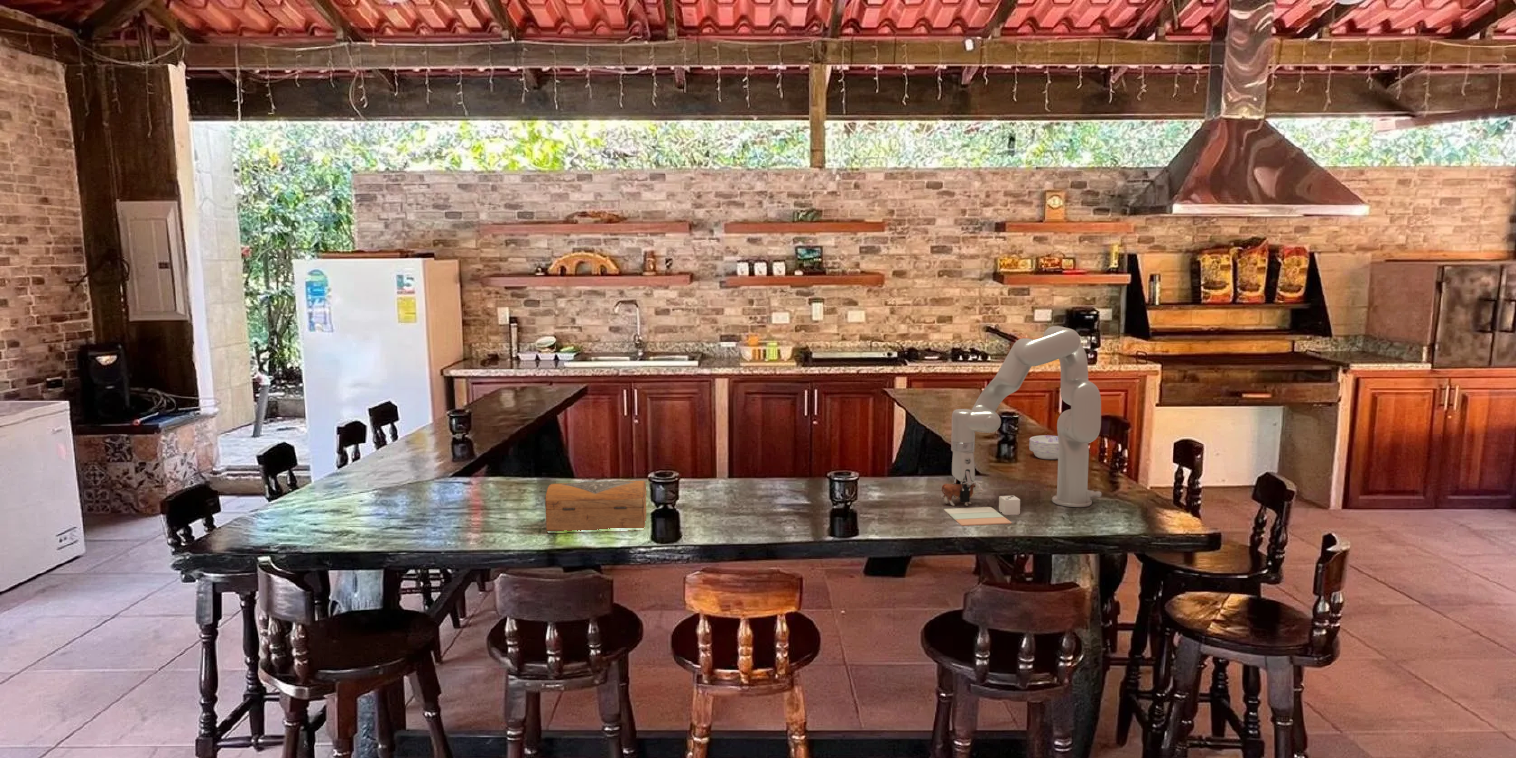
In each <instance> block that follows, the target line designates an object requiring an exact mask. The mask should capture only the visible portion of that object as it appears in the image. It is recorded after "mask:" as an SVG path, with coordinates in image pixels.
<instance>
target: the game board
mask: <svg viewBox="0 0 1516 758" xmlns="http://www.w3.org/2000/svg"><path fill="white" fill-rule="evenodd" d="M943 511H944V512H945V513H946V514H947V515H949V517H951V518H952V519H953V520H954V521H956V523H958V525H960V526H961V527H965V526H966V527H969V526H989V525H990V526H991V525H1011V524H1012V523H1013V522H1012V521H1010V520H1009V519H1008V518H1006V517H1005V515H1004V516H1003V514H1002V513H1001V512H1000V513H999V512H998V510H996V509H994V508H993V507H991V506H981V507H979V506H978V507H960V508H959V507H958V508H957V507H956V508H943Z"/></svg>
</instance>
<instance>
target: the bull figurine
mask: <svg viewBox="0 0 1516 758" xmlns="http://www.w3.org/2000/svg"><path fill="white" fill-rule="evenodd" d="M971 483H972V484H971V486H970V499H971V498H973V497H974V496H975V495H976V494H977V493H979V492H980V493H981V492H983V491H984V489H983V488H982V486H981V484H980V482H978V481H976V482H974V481H973V482H972V481H971ZM964 484H966V483H963V485H964ZM960 490H961V484H954V483H944V484H942V486H941V492H942V494H943V499H944V500H943V502H944V503H945V504H949V503H950V505H951V506H952V507H955V506H956V504H955V503H954V502H953V499H952V497H954V496H955V497H954V498H955V499H956V500H958V499H959V498H958V497H960ZM972 504H973V503H972V502H971V501H970V502H964V506H965V507H969V505H972Z"/></svg>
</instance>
